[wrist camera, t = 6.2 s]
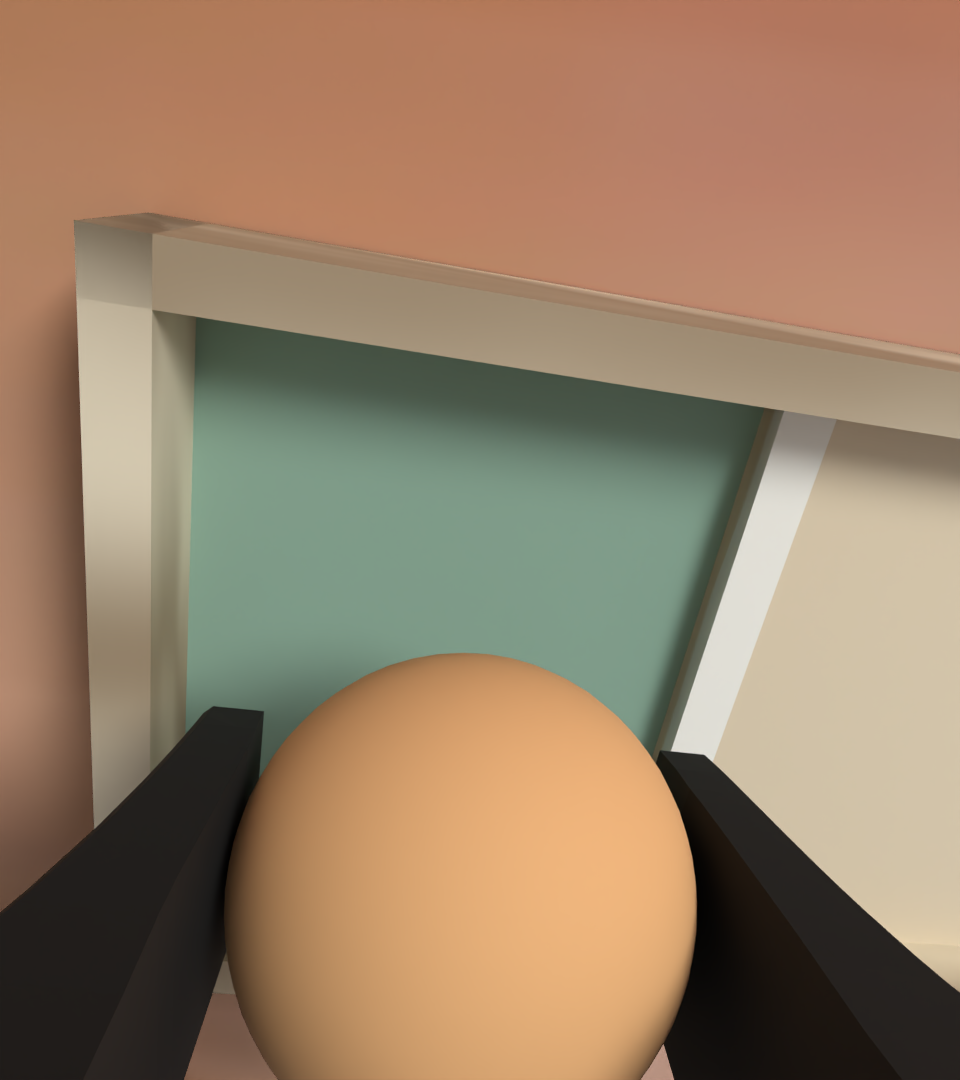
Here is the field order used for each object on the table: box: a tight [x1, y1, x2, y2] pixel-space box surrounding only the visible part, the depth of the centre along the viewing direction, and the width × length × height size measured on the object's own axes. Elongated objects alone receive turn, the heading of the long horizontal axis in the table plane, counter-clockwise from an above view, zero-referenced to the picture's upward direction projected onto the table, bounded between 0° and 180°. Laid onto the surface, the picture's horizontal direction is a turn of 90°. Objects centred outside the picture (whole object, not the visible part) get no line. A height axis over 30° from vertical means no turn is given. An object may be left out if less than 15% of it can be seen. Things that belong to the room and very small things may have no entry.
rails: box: [74, 213, 960, 994], centre depth 13 cm, size 12×17×2 cm
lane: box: [185, 317, 960, 946], centre depth 14 cm, size 12×17×1 cm
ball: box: [224, 653, 697, 1080], centre depth 9 cm, size 5×5×5 cm
